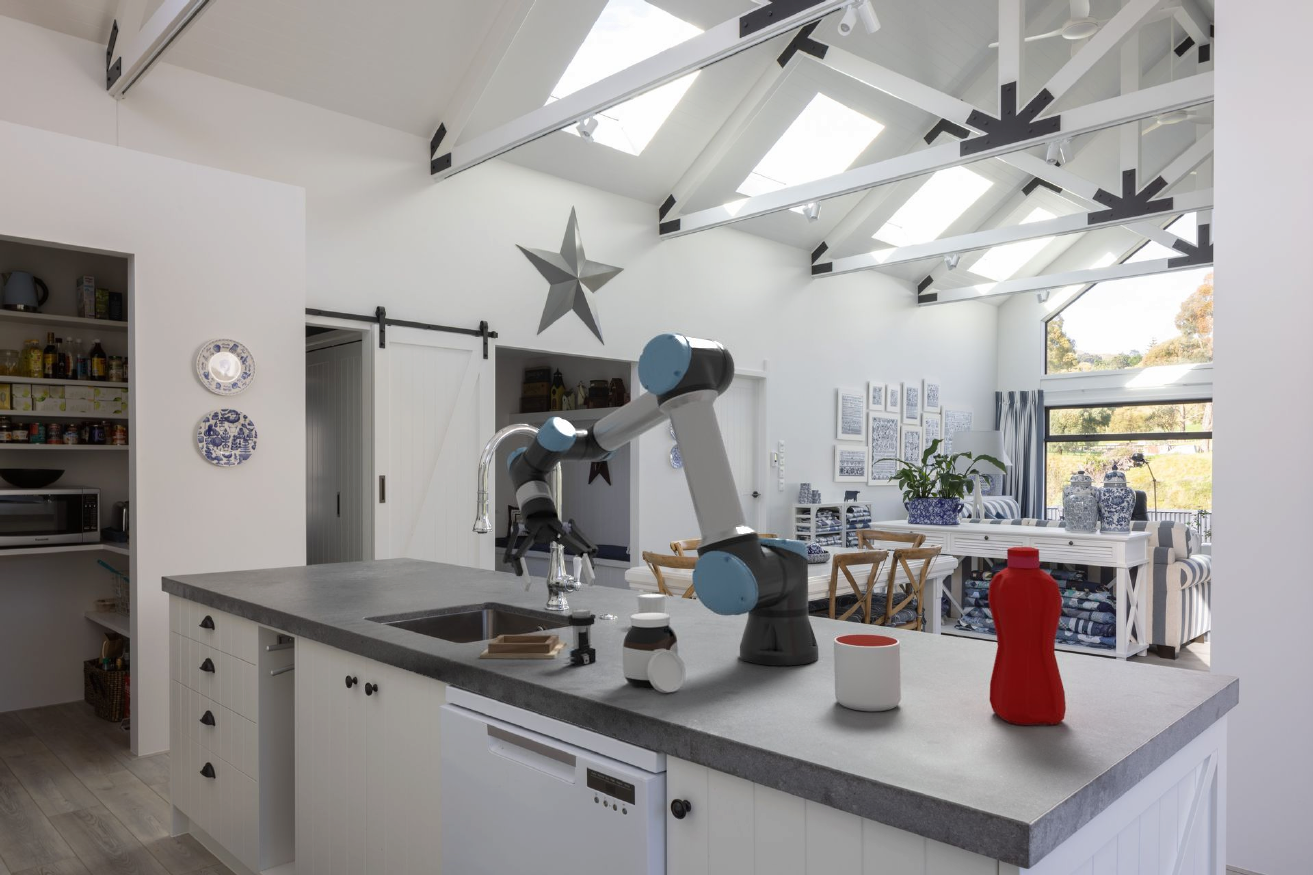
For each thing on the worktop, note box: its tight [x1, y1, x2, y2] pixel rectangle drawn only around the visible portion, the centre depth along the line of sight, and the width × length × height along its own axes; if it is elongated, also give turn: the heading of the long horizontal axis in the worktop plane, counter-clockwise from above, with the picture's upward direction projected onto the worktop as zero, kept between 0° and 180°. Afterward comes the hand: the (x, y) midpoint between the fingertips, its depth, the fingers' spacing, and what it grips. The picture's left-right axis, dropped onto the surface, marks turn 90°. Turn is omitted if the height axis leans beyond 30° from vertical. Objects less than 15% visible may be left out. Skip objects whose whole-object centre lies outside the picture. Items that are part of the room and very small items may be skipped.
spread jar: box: [622, 613, 687, 694], centre depth 150 cm, size 12×11×12 cm
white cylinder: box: [636, 592, 667, 614], centre depth 206 cm, size 7×7×7 cm
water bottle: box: [987, 546, 1067, 726], centre depth 130 cm, size 9×11×25 cm
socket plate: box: [478, 634, 567, 659], centre depth 179 cm, size 13×15×2 cm
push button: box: [564, 608, 597, 667], centre depth 167 cm, size 7×5×10 cm
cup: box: [833, 633, 902, 712], centre depth 137 cm, size 10×10×10 cm
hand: (560, 584), depth 176 cm, fingers open, 13 cm apart
